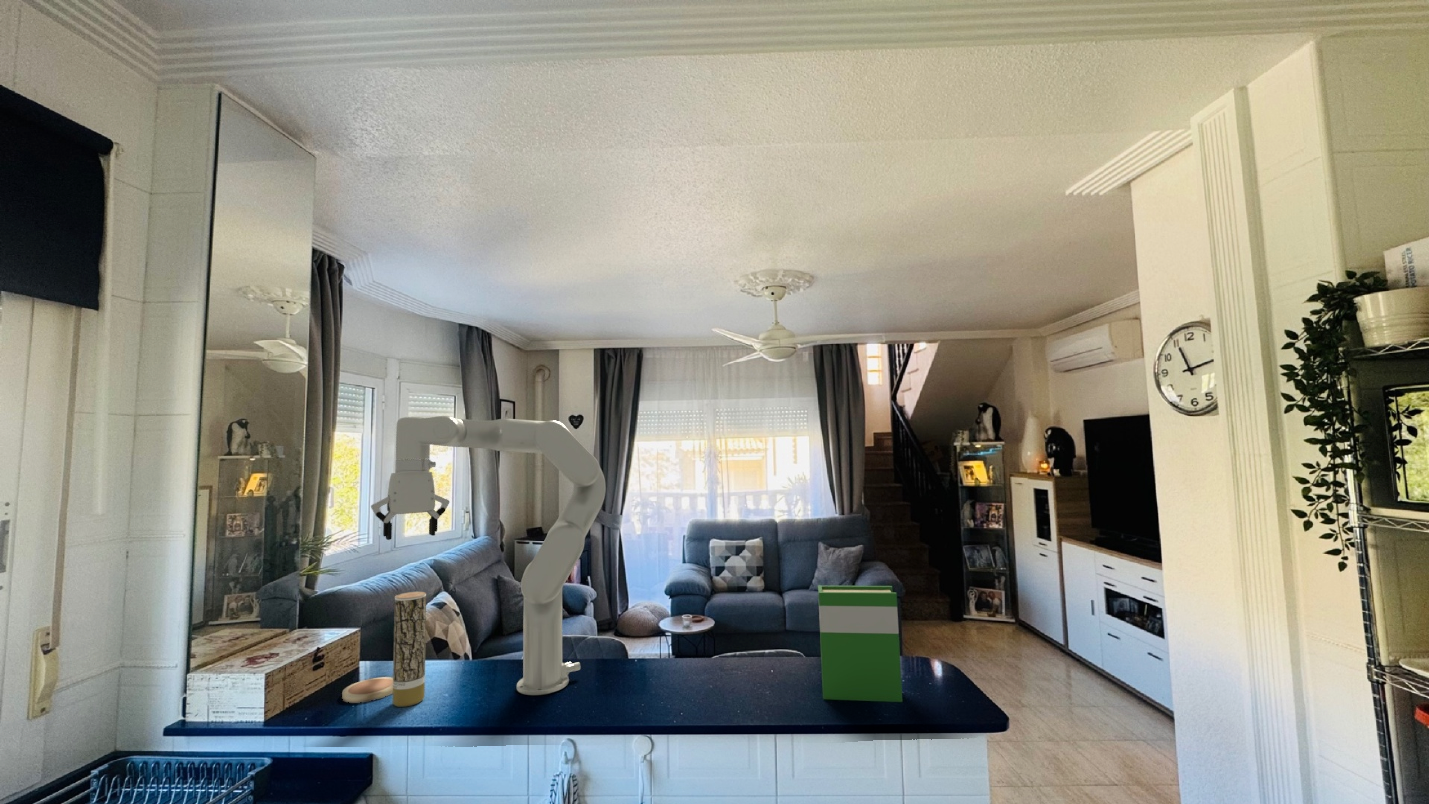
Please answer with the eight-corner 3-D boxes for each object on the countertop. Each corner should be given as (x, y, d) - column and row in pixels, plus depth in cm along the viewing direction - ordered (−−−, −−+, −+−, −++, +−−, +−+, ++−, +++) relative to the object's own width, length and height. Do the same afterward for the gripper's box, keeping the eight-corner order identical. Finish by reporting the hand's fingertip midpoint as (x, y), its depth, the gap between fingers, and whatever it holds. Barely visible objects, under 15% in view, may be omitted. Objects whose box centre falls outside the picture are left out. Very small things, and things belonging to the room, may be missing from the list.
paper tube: (411, 709, 134) (412, 598, 137) (385, 707, 136) (388, 598, 138) (430, 696, 141) (432, 591, 143) (406, 695, 142) (408, 591, 145)
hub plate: (393, 679, 153) (393, 673, 153) (402, 693, 144) (402, 686, 144) (339, 692, 145) (339, 685, 146) (345, 707, 136) (345, 700, 136)
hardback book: (897, 688, 138) (891, 585, 140) (902, 702, 131) (896, 593, 133) (822, 686, 141) (818, 585, 143) (823, 699, 133) (818, 592, 136)
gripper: (445, 466, 152) (444, 532, 150) (369, 468, 141) (367, 539, 139) (453, 466, 146) (452, 534, 144) (375, 468, 135) (372, 542, 133)
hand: (410, 537), depth 142 cm, fingers open, 9 cm apart
